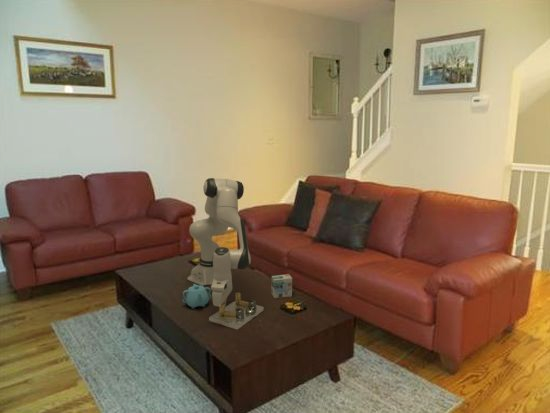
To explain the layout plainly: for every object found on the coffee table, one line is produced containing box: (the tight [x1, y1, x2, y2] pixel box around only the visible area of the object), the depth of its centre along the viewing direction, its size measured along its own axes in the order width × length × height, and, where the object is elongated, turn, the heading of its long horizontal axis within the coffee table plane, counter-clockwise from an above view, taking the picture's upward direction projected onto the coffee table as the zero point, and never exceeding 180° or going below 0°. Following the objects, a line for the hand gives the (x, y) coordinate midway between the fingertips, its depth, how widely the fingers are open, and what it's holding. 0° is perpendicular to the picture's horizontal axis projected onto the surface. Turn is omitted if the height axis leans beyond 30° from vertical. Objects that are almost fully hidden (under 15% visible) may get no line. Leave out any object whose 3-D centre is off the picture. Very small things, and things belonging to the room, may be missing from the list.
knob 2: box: [235, 292, 257, 309], centre depth 217 cm, size 12×4×6 cm, turn 59°
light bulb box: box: [271, 273, 293, 299], centre depth 234 cm, size 11×7×11 cm, turn 105°
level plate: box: [208, 300, 265, 331], centre depth 210 cm, size 18×23×4 cm
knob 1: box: [218, 303, 244, 318], centre depth 206 cm, size 12×4×6 cm, turn 81°
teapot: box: [182, 283, 212, 310], centre depth 222 cm, size 13×14×11 cm
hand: (223, 306), depth 209 cm, fingers closed
